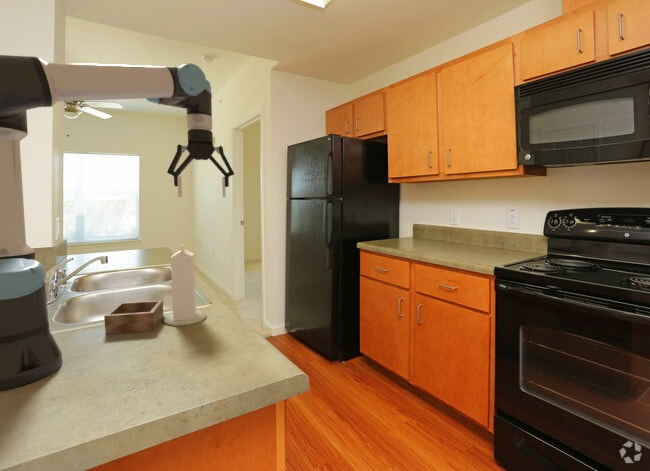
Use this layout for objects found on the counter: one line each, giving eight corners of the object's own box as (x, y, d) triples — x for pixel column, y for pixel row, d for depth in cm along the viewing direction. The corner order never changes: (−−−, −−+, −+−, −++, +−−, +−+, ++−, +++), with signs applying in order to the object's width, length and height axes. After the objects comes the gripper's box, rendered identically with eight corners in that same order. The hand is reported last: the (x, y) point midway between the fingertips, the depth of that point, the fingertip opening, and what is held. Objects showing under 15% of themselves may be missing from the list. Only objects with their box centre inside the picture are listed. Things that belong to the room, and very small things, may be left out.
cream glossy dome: (159, 327, 98) (159, 325, 98) (168, 313, 110) (168, 311, 110) (203, 324, 101) (203, 322, 101) (208, 310, 113) (208, 309, 113)
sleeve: (105, 333, 94) (104, 316, 93) (120, 318, 105) (119, 302, 105) (153, 330, 96) (152, 312, 96) (163, 315, 108) (162, 300, 107)
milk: (173, 321, 102) (169, 246, 99) (176, 314, 108) (172, 244, 105) (195, 319, 104) (191, 245, 101) (196, 312, 109) (193, 243, 107)
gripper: (154, 126, 104) (158, 196, 107) (240, 129, 110) (241, 197, 112) (160, 130, 112) (163, 196, 114) (240, 133, 117) (241, 197, 120)
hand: (202, 197), depth 113 cm, fingers open, 13 cm apart
